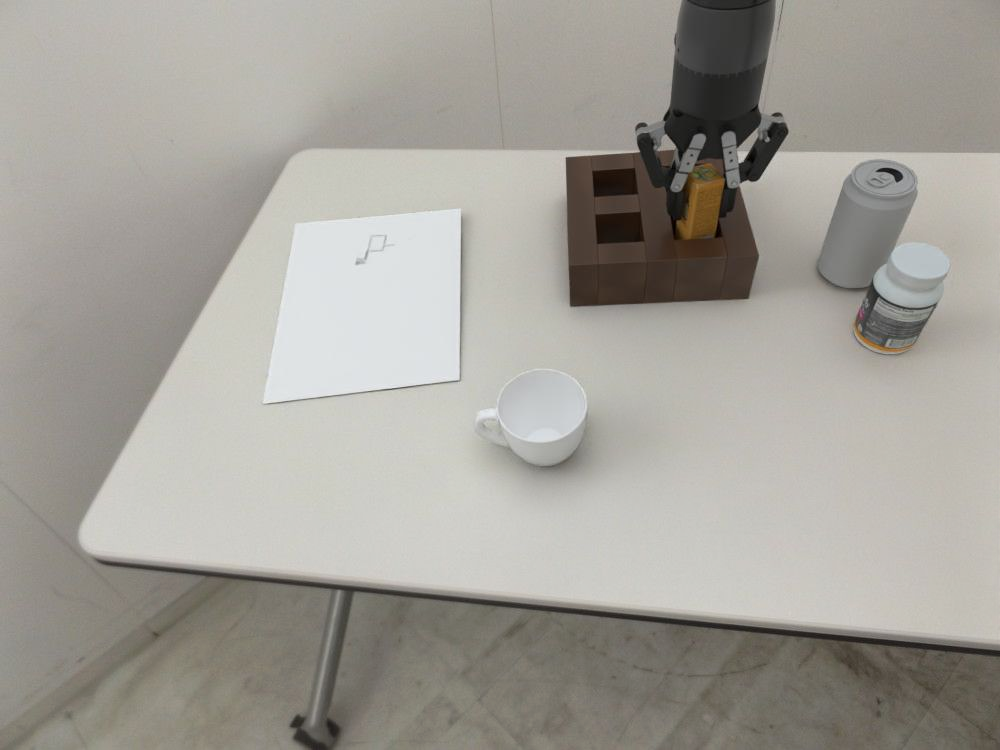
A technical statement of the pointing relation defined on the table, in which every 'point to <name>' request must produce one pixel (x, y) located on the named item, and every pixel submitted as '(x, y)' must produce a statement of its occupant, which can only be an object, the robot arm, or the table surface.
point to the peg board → (647, 239)
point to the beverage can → (867, 222)
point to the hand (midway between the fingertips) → (698, 213)
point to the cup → (538, 416)
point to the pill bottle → (902, 298)
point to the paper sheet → (368, 306)
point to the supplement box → (700, 203)
